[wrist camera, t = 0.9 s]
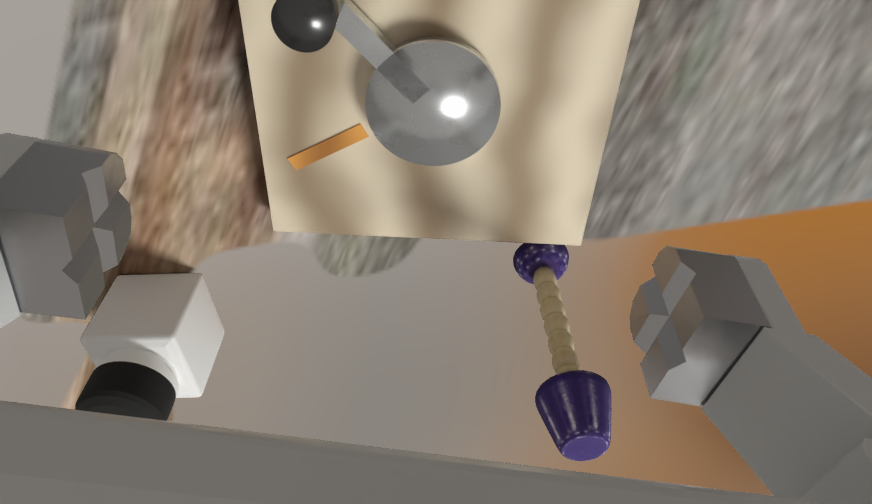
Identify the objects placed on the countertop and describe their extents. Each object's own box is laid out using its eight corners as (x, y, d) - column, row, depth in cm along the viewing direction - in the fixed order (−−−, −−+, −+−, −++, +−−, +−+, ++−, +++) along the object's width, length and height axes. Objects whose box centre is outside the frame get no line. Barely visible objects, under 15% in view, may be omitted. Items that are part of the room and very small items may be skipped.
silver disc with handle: (526, 105, 39) (534, 149, 35) (429, 179, 43) (427, 226, 39) (349, -92, 32) (334, -64, 29) (251, 16, 36) (227, 53, 32)
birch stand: (653, -103, 34) (662, -94, 32) (576, 228, 48) (580, 246, 47) (231, -125, 34) (219, -117, 32) (279, 214, 48) (273, 231, 46)
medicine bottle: (115, 273, 52) (43, 394, 43) (202, 270, 52) (148, 392, 43) (146, 333, 57) (87, 455, 48) (226, 331, 56) (182, 453, 47)
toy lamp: (582, 239, 49) (635, 428, 36) (565, 284, 52) (610, 473, 39) (519, 233, 48) (551, 421, 36) (506, 279, 51) (532, 468, 39)
